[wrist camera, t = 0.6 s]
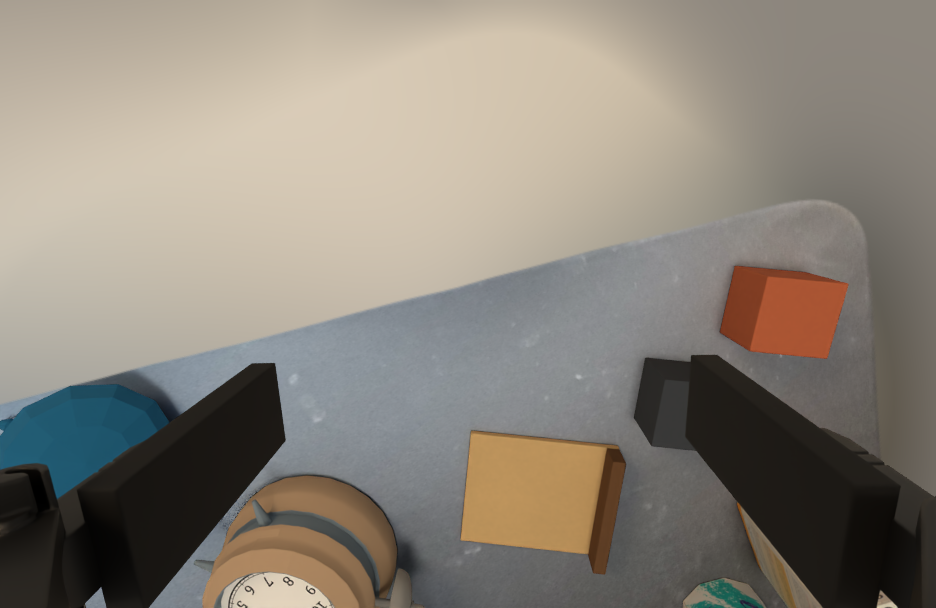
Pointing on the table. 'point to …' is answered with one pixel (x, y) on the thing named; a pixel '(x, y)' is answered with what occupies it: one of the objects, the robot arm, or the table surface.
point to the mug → (723, 595)
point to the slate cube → (664, 403)
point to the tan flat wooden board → (543, 494)
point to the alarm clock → (308, 551)
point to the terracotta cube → (783, 311)
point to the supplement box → (785, 571)
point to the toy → (78, 431)
